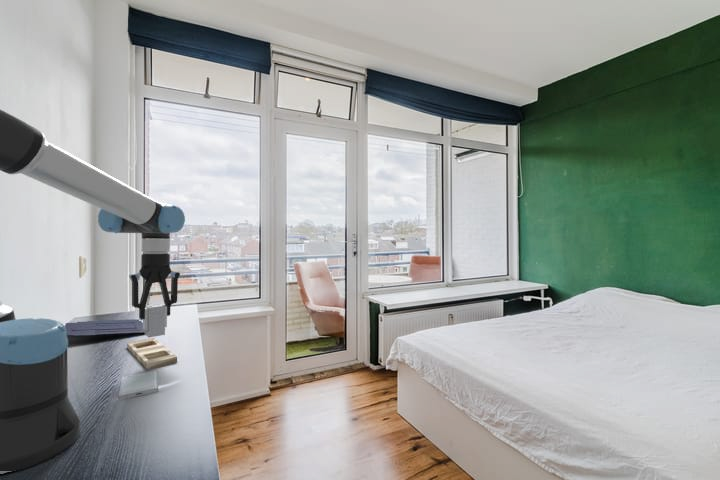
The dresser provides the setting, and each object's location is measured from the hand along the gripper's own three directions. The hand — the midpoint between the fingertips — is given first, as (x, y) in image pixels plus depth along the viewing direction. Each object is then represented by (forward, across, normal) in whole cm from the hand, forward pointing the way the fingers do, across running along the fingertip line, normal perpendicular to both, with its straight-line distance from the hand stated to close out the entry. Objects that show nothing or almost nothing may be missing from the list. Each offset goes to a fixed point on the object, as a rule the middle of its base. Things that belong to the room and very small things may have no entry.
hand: (154, 327), depth 103 cm
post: (+2, 0, 0) cm, 2 cm away
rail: (+11, -1, -7) cm, 13 cm away
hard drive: (+12, +7, +15) cm, 20 cm away
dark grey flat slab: (+11, +3, -49) cm, 50 cm away
